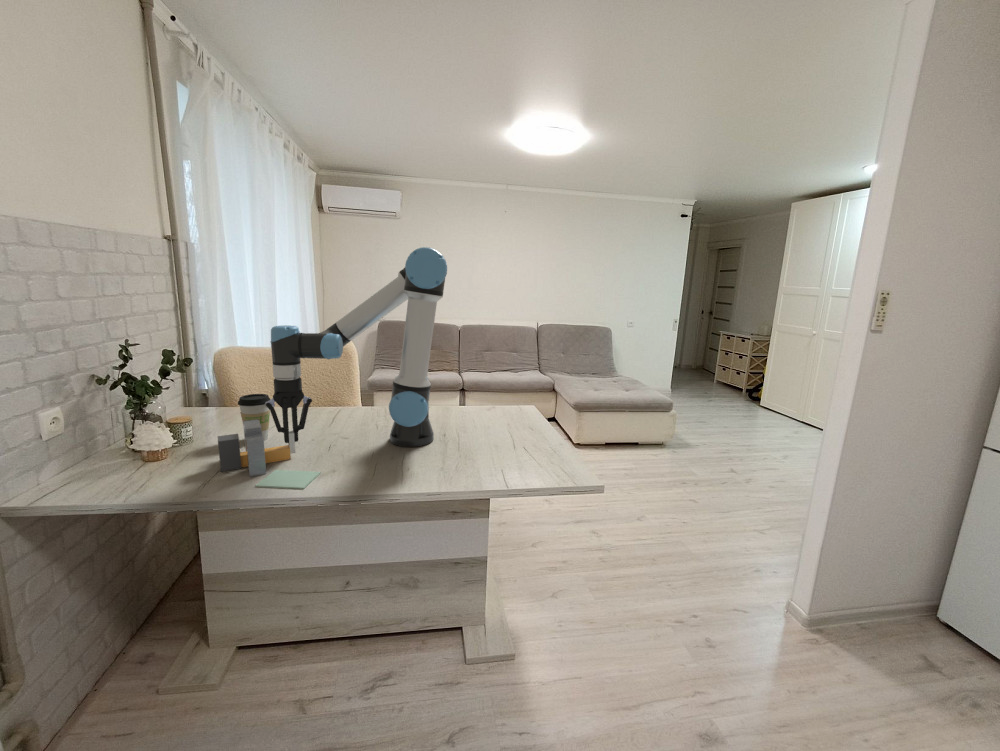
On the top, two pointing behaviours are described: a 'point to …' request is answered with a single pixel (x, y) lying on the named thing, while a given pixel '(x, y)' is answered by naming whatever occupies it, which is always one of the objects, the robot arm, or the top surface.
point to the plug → (245, 453)
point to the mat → (288, 479)
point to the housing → (254, 447)
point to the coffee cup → (256, 410)
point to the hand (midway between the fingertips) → (292, 451)
